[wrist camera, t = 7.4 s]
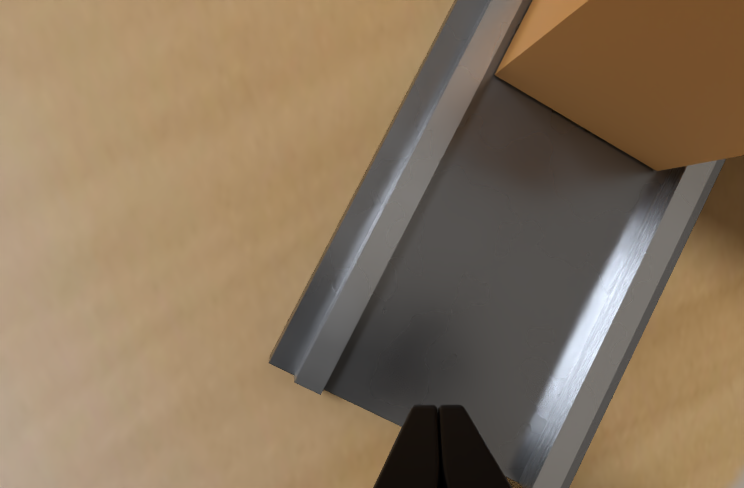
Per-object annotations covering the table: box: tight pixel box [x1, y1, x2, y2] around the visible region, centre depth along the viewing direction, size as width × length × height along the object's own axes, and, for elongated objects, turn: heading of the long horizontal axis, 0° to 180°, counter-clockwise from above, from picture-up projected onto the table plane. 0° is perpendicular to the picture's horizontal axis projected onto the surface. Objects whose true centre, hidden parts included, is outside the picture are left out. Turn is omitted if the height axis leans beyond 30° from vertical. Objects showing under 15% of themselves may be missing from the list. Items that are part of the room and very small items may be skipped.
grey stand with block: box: [269, 0, 726, 488], centre depth 11 cm, size 18×10×15 cm, turn 153°
